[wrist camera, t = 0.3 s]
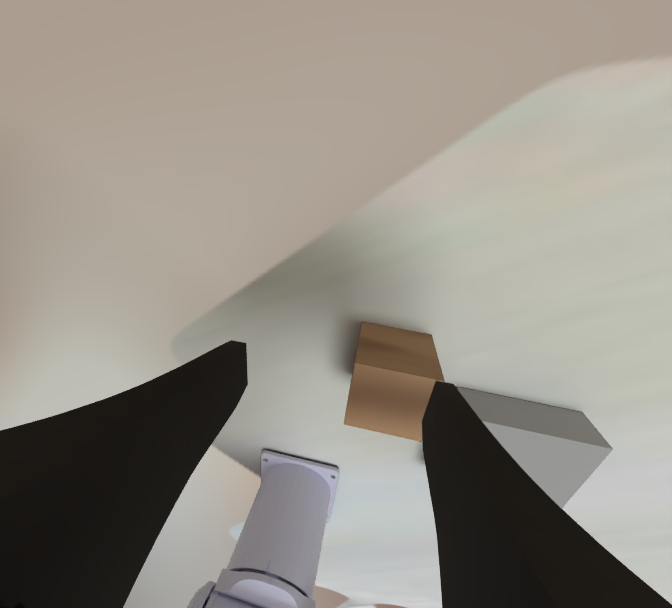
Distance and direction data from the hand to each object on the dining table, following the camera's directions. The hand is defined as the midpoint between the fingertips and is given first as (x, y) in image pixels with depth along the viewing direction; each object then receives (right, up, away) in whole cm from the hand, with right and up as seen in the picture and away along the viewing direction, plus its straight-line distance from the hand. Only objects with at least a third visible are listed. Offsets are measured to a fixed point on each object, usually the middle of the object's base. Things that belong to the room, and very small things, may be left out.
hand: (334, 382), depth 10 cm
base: (+13, -8, +12) cm, 20 cm away
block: (+4, -1, +11) cm, 11 cm away
